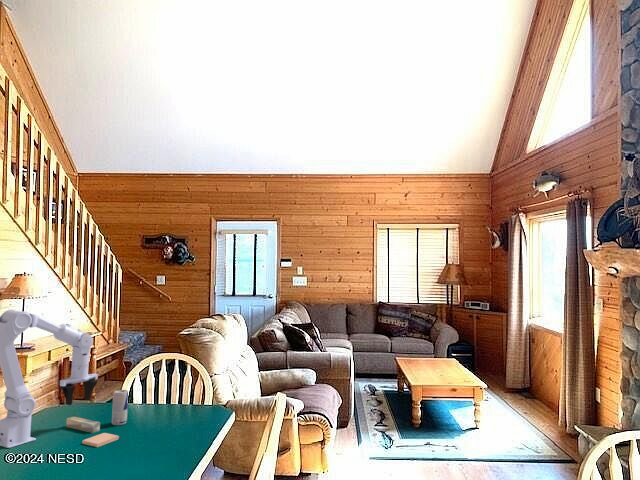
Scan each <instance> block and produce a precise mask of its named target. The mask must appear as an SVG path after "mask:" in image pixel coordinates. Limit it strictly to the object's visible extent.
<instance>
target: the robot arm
mask: <svg viewBox="0 0 640 480" xmlns="http://www.w3.org/2000/svg"><path fill="white" fill-rule="evenodd" d="M71 326H72V325H71V324H70V323H66V324H65V323H62V324H59V325H58V324H56V323H54V322H52V321H50V320H47V319H46V318H44V317H41V316H40V315H37V314H35V313H34V314H33V313H29V312H28V311H24V310H23V311H18V310H15V309H8V310H5V311H4V312H3V313H2V314H1V315H0V370H1V374H2V377H3V381H4V385H5V389H6V390H5V392H4V402H3V406H4V409H5V410H6V416H5V417H3V418H1V419H0V447H4V448H6V449H7V448H8V449H10V448H14V447H17V446H20V445H23V444H26V443H27V444H28V443H30V442H34V441H36V440H37V438H35V437H32V436H31V429H32V416H33V415H32V413H33V412H34V410H35V409H36V405H37V401H36V399H35V398H34V397H33V396H32V395H31V391H30V390H29V389H28V387H27V386H26V384H25V381H24V377H23V373H22V370H21V365H20V362H19V357H18V353H17V350H16V347H15V344H14V343H15V340H16V339H17V338H18V336H19V335H20V334H23V332H25V331H26V330H28V329H29V328H31V329H32V328H37V329H40V330H43V331H46V332H48V333H52V334H53V337H54V338H55V339H56V340H58V341H60V342H63V343H65V344H67V345H70V346H71V348H72V353H71V354H72V355H71V370H70V371H71V374H70V376H69V377H68V378H65V379H64V378H63V379H62V380H61V379H60V380H59V387H60V390H61V391H62V393H63V396H64V399H65V403H66V405H67V406H72V405H73V398H74V397H73V396H74V392H75V389H76V386H74V384H79V383H83V390H84V394H83V397H84V398H83V399H84V401H90V400H91V398H92V397H91V396H92V394H93V391H94V389H95V388H96V386H97V384H98V378H99V377H98V375H99V374H98V373H90V374H89V367H90V366H89V365H90V352H91V351H90V350H91V348H92V346H93V344H94V340H93V337H92V335H91V334H90V333H86V332H82V331H83V330H81V329H80V328H78V329H76V328H74V327H71Z"/></svg>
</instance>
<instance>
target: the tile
mask: <svg viewBox="0 0 640 480" xmlns="http://www.w3.org/2000/svg"><path fill="white" fill-rule="evenodd" d="M119 438H120V436H119V435H117V434H112V433H108V432H103V433H102V432H101V433H100V434H97V435H93V436H91V437H88V438H86V439H83V440H82V445H87V446H91V447H96V448H99V447H102V446H105V445H106V444H109V443H112V442H115V441H117V440H119Z"/></svg>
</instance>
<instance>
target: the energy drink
mask: <svg viewBox="0 0 640 480" xmlns="http://www.w3.org/2000/svg"><path fill="white" fill-rule="evenodd" d="M128 402H129V392H128V390H127V389H118V390H114V391H113V393H112V411H111V425H113V426H122V425H125V424H126V423H127V421H128V407H129V406H128V405H129V404H128Z"/></svg>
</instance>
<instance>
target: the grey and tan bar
mask: <svg viewBox="0 0 640 480" xmlns="http://www.w3.org/2000/svg"><path fill="white" fill-rule="evenodd" d="M65 427H66V428H69V429H75V430H78V431H83V432H88V433H91V434H94V433H97V432H100V430H101V422H100V421H95V420H91V419H87V418H83V417H78V416H71V417H67V418H66V425H65Z"/></svg>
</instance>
